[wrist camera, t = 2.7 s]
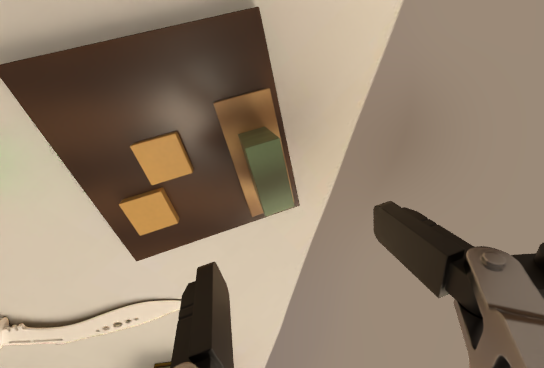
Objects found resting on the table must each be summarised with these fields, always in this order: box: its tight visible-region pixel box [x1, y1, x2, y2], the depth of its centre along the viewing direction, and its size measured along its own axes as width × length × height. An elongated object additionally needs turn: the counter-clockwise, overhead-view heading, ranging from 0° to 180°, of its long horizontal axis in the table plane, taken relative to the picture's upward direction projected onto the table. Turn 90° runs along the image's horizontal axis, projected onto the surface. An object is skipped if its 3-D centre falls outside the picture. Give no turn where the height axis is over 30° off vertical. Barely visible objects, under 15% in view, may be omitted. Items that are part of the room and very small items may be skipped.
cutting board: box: [0, 7, 299, 261], centre depth 21 cm, size 20×20×1 cm
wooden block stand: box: [213, 88, 294, 217], centre depth 19 cm, size 12×5×7 cm, turn 13°
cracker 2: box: [119, 187, 179, 236], centre depth 22 cm, size 4×4×1 cm
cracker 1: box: [130, 132, 193, 185], centre depth 20 cm, size 4×4×1 cm
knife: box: [0, 300, 181, 349], centre depth 26 cm, size 31×6×2 cm, turn 79°
